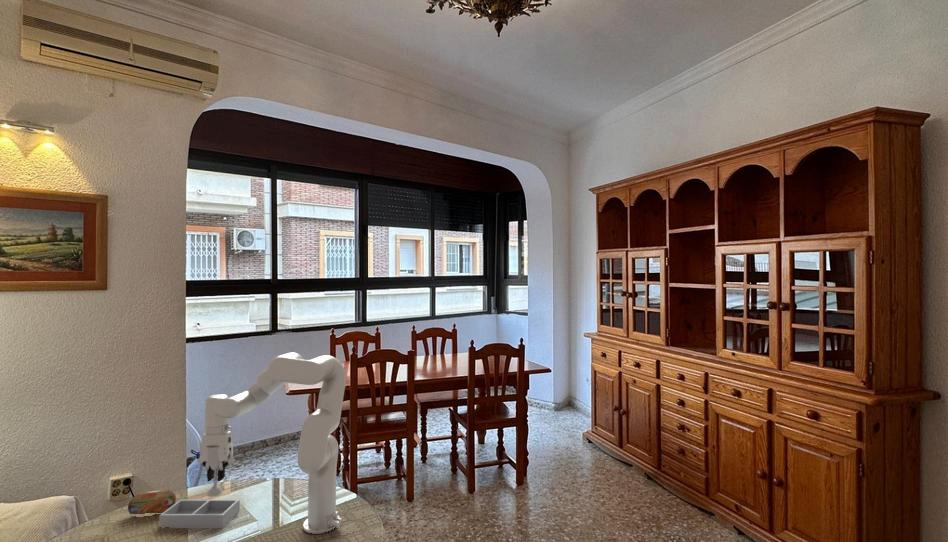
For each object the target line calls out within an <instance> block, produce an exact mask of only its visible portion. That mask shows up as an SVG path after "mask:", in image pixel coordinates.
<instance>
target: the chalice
mask: <svg viewBox="0 0 948 542" xmlns="http://www.w3.org/2000/svg"><path fill="white" fill-rule="evenodd" d="M207 449H208V455H207V460H208V463H209V465H210V467H211V469H212V470H214V475H213V476H214V478H213V479H212V482H213V485H212V486H210V488H209V489H208V492H207V494H206V496H207V497H208V498H209V497H211V498H214V497H218V496H221V495H222V494H224V491H223V489H222V486H220V485H218V482H219V481H218V470H219V464H220V462H219V457H218V449H219V447H214V448H210V447H207Z"/></svg>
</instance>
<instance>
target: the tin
mask: <svg viewBox="0 0 948 542" xmlns="http://www.w3.org/2000/svg"><path fill="white" fill-rule="evenodd" d="M175 503H177V497H176V494H175V492H173V491H172V490H170V489H160V490H152V491H142V492H140V493H138V494H136V495H135V496H133V497H132V498H131V499H130V500H129V502H128V504H127V511H128V513H129V514H130V515H131V514H145V513H163V512H165V511H166V510H167V509H169V508H170V507H171V506H173V505H174V504H175Z"/></svg>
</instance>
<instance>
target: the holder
mask: <svg viewBox="0 0 948 542" xmlns="http://www.w3.org/2000/svg"><path fill="white" fill-rule="evenodd" d="M240 501H241V500H240V499H179V500H178V501H176V502H175V504H174V505H173V506H171V507H170V508H169V509H167V510H166V511H165V512H163V513H162V514H161V515H158V516H159V522H158V526H159V527H174V528H173V529H223V528H224V527H225V526H226V525H228V524H229V523H230V522H231V520H233V519H234V517H236V516H237V515H238V514H239V513H240V511H241V510H240V507H241V504H240V503H241V502H240ZM159 527H158V528H159Z"/></svg>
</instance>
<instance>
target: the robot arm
mask: <svg viewBox="0 0 948 542" xmlns="http://www.w3.org/2000/svg"><path fill="white" fill-rule="evenodd" d="M321 382H322V385H321V388H320V390H319V393H318V400H317V404H316V405H317V406H316V408H315V410H314V411H313V412H312V413H310V415H308V416H307V417H306V418H305V420H304V422H303V424H302V426H301V432H300V437H299V438H300V439H299V445H298V448H297V455H296V458H297V459H296V460H297V465H298V468H300V470H301V471H302V472H303V473H305V474H308V477H307V479H308V480H307V481H308V482H307V486H308V487H307V489H308V490H307V518H306V520H304V522H303V523H302V529H303V530H304V532H306V533H307V534H311V533H312V534H314V535H319V534H325V532H326V533H329V532H331V530H332V529H333V530H335V529H336V528H337V529H338V528H340V527H341V524H342V523H343V518H342V517H340V516H339V511H337V507H336V506H337V467H338V466H337V464H338V457H339V444H338V441H337V438H336V437H335V436H334V435H332V433H334V431H335V430H337V428H338V427H339V425H340V421H341V416H342V407H343V405H344V404H343V402H344V396H345V389H346V382H347V375H346V370H345V367H344V365H343V363H342V362H341V361H340V360H339V359H338V358H336V357H334V356H332V355H330V354H329V355H328V354H325V355H320V356H317V357H314V358H312V359H304V357H302V355H301V354H300V353H298V352H294V351H293V352H287V353H284V354H280V355H277V356H275V357H273V359H271V361H270V362H269V364H268V367H267V368H265V369H264V370H263V371H261V372H259V374H257V377H256V382H255V383H253V384H252V385H251V386H250V387H249V388H247V389H246V390H244V391H242V392H240V393H237V394H235V395H232V396H230V397H229V396H228V394H224V393H217V394H211V395H208V396H207V397H206V399H205V408H204V409H205V413H204V419H205V420H204V433H203V434H202V438H201V444H200V449H199V450H200V451H199V457H198V459H197V463H199V464H201V465H202V466H203V467H204V468H205V471H206V478H207V479H206V480H207V482H211V481H213V480H214V476H213V475H214V470H212V469H211V467H210V465H209V463H208V460H207V455H208V449H207V447H210V448H214V447H219V449H218V457H219V462H220V464H219V469H218V470H217V473H218V476H217V479H218V481H217V482H221V481H222V480H223V479H224V478H225V476H226V468H227V466H229V465H230V464H232V463H233V462H235V460H236V459H235V457H234V444H233V435H232V431H231V430H232V428H233V426H232V425H230V423H229V420H230V419H236V418H238V417H241V416H242V415H243V414H246V413H248V412H250V411H252V410H254V409H255V408H256V407H258V406H260V404H262V403H263V402H265V401H266V400H267V399H268V398H269V397H270V396H272V395H273V394H274V393H275V392H276V391H277V390H279V389H280V388H281V387H282V386H284V385H285V384H287V383H288V384H297V385H303V386H305V385H306V386H313V385H317V384H319V383H321ZM335 527H336V528H335ZM334 528H335V529H334ZM333 530H332V531H333ZM328 531H329V532H328Z"/></svg>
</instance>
